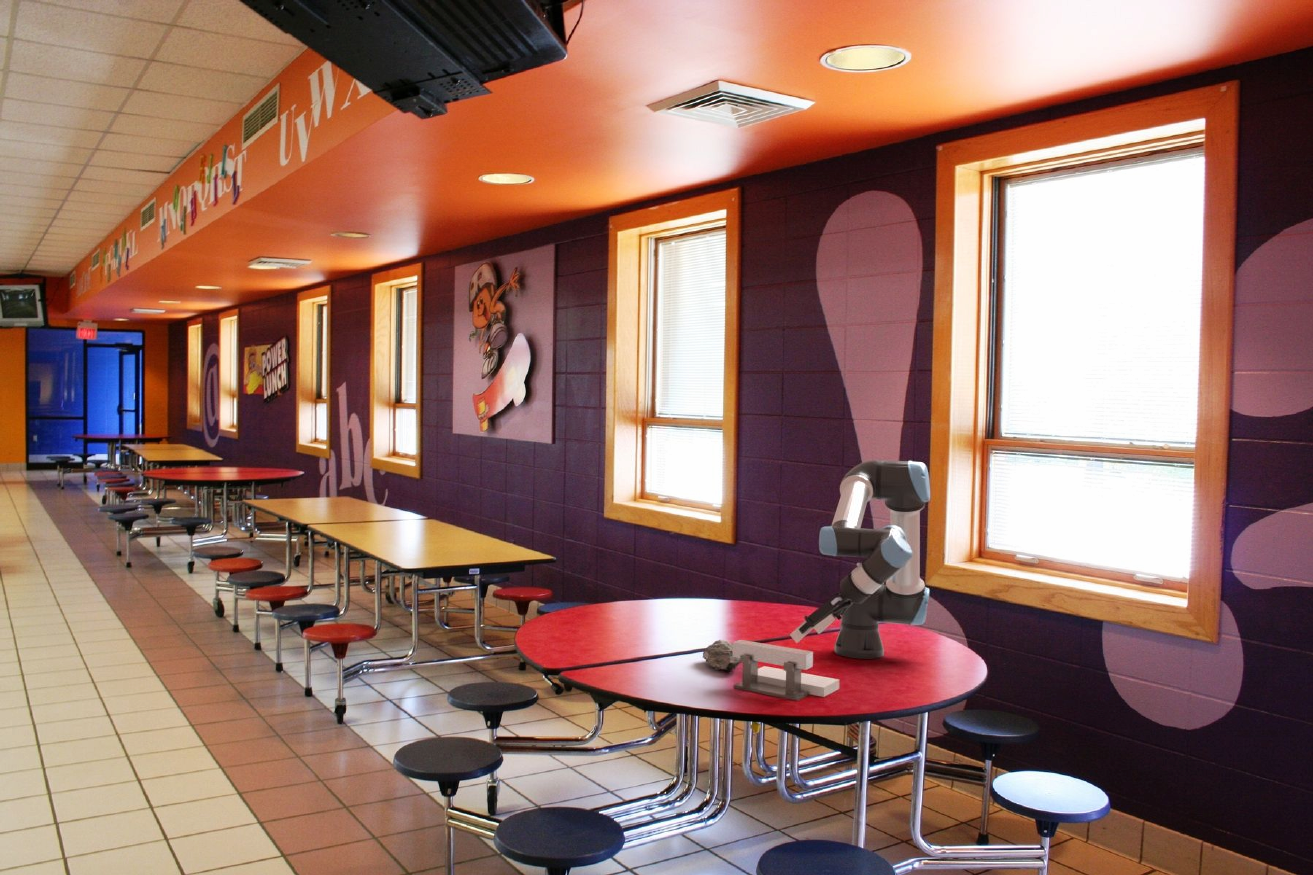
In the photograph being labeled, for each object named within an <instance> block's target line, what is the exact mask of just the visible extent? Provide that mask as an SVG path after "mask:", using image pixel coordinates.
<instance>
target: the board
mask: <svg viewBox="0 0 1313 875" xmlns="http://www.w3.org/2000/svg"><path fill="white" fill-rule="evenodd" d="M757 682H761V683H766V684H771V685H776V686H782V687H786V671H784V668H776V667H770V666H765V665H763V666H762V667H758V681H757ZM839 689H840V679H839V678H838V679H837V678H832V677H826V676H821V675H815V674H809V673H805V672H801V690H803V691H808V692H809V695H813V696H817V697H822V698H824V697H826V696H828V695H830V694H833V693H834V692H836V691H837V690H839Z"/></svg>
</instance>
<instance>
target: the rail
mask: <svg viewBox="0 0 1313 875" xmlns="http://www.w3.org/2000/svg"><path fill="white" fill-rule="evenodd" d="M732 645H733V655H732V657H736V658H740V655H747V656H750V660H753V661H758V663H759V662H760V663H765V664H766V663H767V664H772V665H777V666H783V667H784V663H785V662H787V663H793V664H794V668H798V669H801V670H805V671H806V670H808V669H811V668H813V667H814V666H813V665H814V651H813V650H812V651H811V650H805V649H799V648H793V647H786V646H781V645H776V644H775V645H774V644H768V643H761V642H757V641H750V640H743V639H738V640H736V641H732Z"/></svg>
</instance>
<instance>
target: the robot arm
mask: <svg viewBox="0 0 1313 875" xmlns="http://www.w3.org/2000/svg"><path fill="white" fill-rule="evenodd" d="M928 471H929V470H928V466H927V465H926V464H925V463H924V462H921V461H913V460H908V461H907V460H879V459H872V460H867V461H864V462H861V463H859V464H857V465H856V466H854V467H853V468H851V469H850V470H849V471H848V472H847V473H845V475H844V477H843V478H842V480H841V483H840V485H839V494H840V498H839V501H838V504H837V507H836V511H835V513H834V516H833V520H832V523H831V525H828V526H823V527H821V528H820V531H819V538H818V546H819V548H818V549H819V552H820V553H821V554H822V555H826V556H833V557H851V558H865V559H864V560H862V561H861V562H857V563H856V566H857V567H855V568H854V569H853V570H852V571H851V572H850V573H848V574H847V575H846V576H845V577H844V578H843V579H842V580H840V584H839V585H840V586H839V587H840V589H841V591H840V592H836V593H835V594H834V595H832V597H830V598H829V599H828V600H827V601H826V602H824V603H823V604H822V605H821V606H820V607H818V608H817V609H815V611H813V612H811V614H809V615H808V616H807V615H805V616H804V621H803V622H802V623H801V624H800V625H799V626H797V627H796V628H795V630H793V631H792V632H791V633H790V634H789V635H790V637H791V638H792V640H794V642H795V644H798V643H799V642H800V641H801V640H803V639H804V638H805V637H806V636H807V635H808V634H809V633H810V632H812V630H813V629H814V630H815V631H816V632H817V634H818V635H820V634H821V633H823V632H824V631H825V630H826V629H827V628H828V627H829V626H830V625H831V624H832V623H833V622H834V621H836V620H837V621H840V629H839V632H838V635H837V638H836V641H835V644H834V653H835V654H836V655H839V656H842V657H845V658H849V659H859V660H862V659H863V660H869V659H870V660H871V659H879V658H882V657H884V655H885V654H884V652H885V651H884V645H883V641H882V638H881V634H880V631H879V623H886V624H887V623H888V624H899V625H908V626H921V625H923V624H924V623H925V621H926V618H927V612H928V606H929V605H928V604H929V597H930V588H929V587H926V584H925V581H924V580H923V579H922V578H921V577H920V573H921V570H920V569H921V568H920V567H921V566H920V565H921V564H920V561H921V560H920V559H921V558H920V556H921V553H920V552H921V551H920V548H921V547H920V546H921V545H920V544H921V541H920V539H921V538H920V537H921V534H920V531H921V530H920V529H921V528H920V527H921V525H920V524H921V523H920V521H921V520H920V518H921V516H920V515H921V511H922V510H923V509H924V508H925V506H926V503H927V502H929V501H930V499H931V488H930V487H931V486H930V485H931V484H930V483H931V482H930V476H929V472H928ZM871 500H882V501H884V506H885V508H886V509H888V511H889V521H890V522H889V523H890V525H888V524H887V525H885V526H884V527H882V528H881V529H878V528H877V529H876V528H861V527H862V523H863V519H864V515H865V512H866V507H867V503H868V502H870V501H871Z"/></svg>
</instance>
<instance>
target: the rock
mask: <svg viewBox="0 0 1313 875" xmlns="http://www.w3.org/2000/svg"><path fill="white" fill-rule="evenodd" d="M732 655H733V643H731V642H730V641H728V640H724V639H719V640H715V641H714V642H713V643H712V644H709V645H708V646H707V647H706V648H705V650H703V653H702V658H703V659H704V660H705V663H706V664H707V665H709V666H711V667H713V668H714V669H716V670H726V671H728V672H729V671H730V672H731V671H733V670H735V668H736V667H737V666H739V665H740V664H741V663H740V658H736V657H732Z"/></svg>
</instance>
